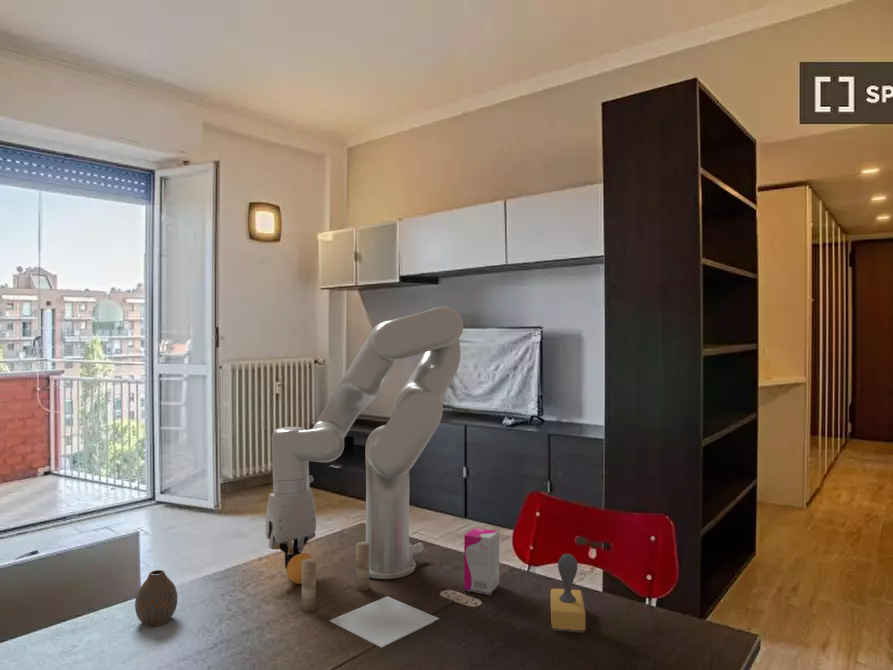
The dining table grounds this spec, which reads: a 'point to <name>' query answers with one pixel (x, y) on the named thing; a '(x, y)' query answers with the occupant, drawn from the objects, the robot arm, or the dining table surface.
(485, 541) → the supplement box
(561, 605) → the rubber stamp
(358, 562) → the post
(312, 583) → the post
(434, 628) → the dining table surface
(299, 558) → the ball
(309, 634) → the dining table surface
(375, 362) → the robot arm
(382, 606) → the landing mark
